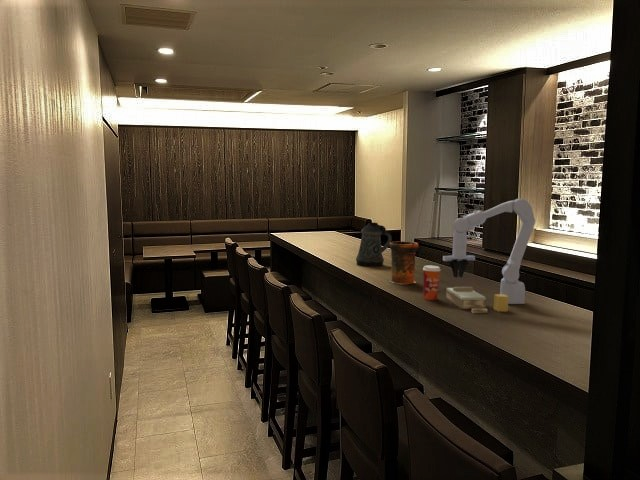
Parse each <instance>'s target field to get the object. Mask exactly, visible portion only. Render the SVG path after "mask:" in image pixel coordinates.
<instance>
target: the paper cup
mask: <svg viewBox="0 0 640 480" xmlns="http://www.w3.org/2000/svg"><path fill="white" fill-rule="evenodd" d="M422 270H423V272H422V273H423V283H422V284H423V299H424V300H428V301H436V300H438V293H439V283H440V276H441V275H440V272H441V271H442V270H441V268H440V266H438V265H424V266H423V268H422Z"/></svg>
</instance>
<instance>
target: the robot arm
mask: <svg viewBox="0 0 640 480" xmlns="http://www.w3.org/2000/svg"><path fill="white" fill-rule="evenodd" d="M513 212H514V214H516V215H517V216H518V217H519V219H520V221H521V225H520V227H519V231H518V233H517V236H516V239H515V241H514V242H515V243H514V244H513V246H512V247H513V248H512V250H511V253H510V256H509V258H508V260H507V261H506V264H505V265H504V266H503V267H502V269H501V275H502V277H503V278H501V279H500V286H499V287H500V289H499V290H500V291H499V294H504V295H506V296H508V305H525V304H526V302H525V296H526V295H525V294H526V287H525V283H524V282H522V281H520V280H519V278H520V268H521V263H522V261H523V257H524V254H525V252H526V249H527V247H528V245H529V241H530V237H531V235H532V232H533V230H534V226H535V224H536V218H535V214H534V211H533V206H532V205H531V204H530V203H529V201H527V199H524V198H516V199H513V200H508V201H506V202H502V203H500V204H498V205H496V206H494V207H492V208H489V209H487V210H483V211H482V210H480V209H478V210H473V212H471V213H469V214H467V215H462V217H459V218H457V219H455V220H454V222H453V228H454V230H453V235H452V237H453V238H452V255H442V261H444V262H449V265H450V267H451V270H452V275H453V278H458V277H459V278H463V276H464V273H465V270H466V269H467V266H468V265H469V262H470V261H476V256H475V255H473V254H472V255H468V254H467V246H468V245H467V243H468V235H467V230H468V229H472V228H474V227H477V226H479V225H482V224H484V223H485V222H486V220H487V219H488V218H489V219H490V218H492V217H494V216H497V215H499V214H500V215H501V214H503V213H513Z"/></svg>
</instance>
